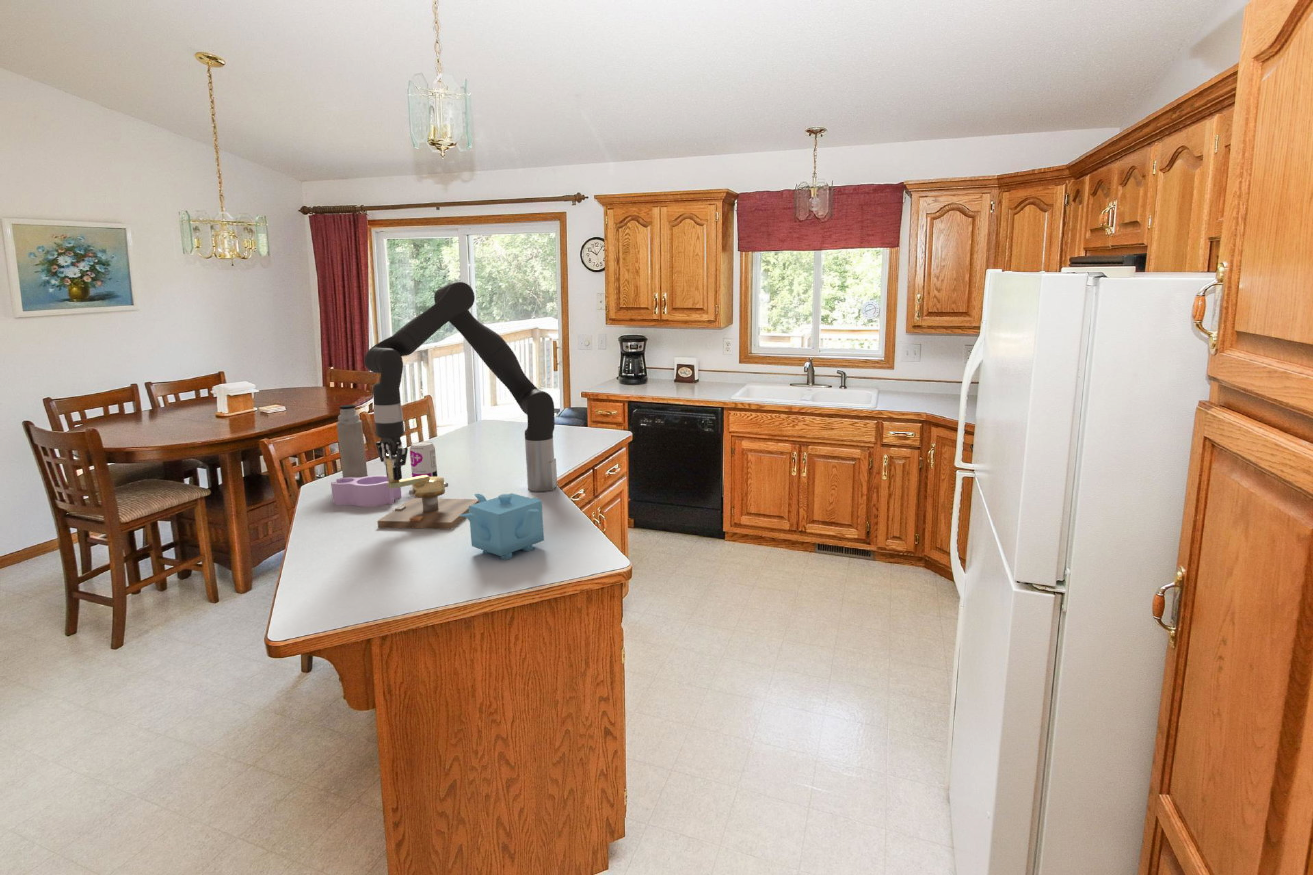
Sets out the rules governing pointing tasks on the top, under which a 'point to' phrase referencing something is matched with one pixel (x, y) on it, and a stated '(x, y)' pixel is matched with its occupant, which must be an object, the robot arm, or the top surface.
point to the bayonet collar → (417, 483)
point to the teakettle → (505, 524)
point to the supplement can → (423, 459)
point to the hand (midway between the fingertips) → (394, 478)
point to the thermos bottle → (351, 443)
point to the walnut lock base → (427, 513)
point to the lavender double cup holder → (364, 491)
